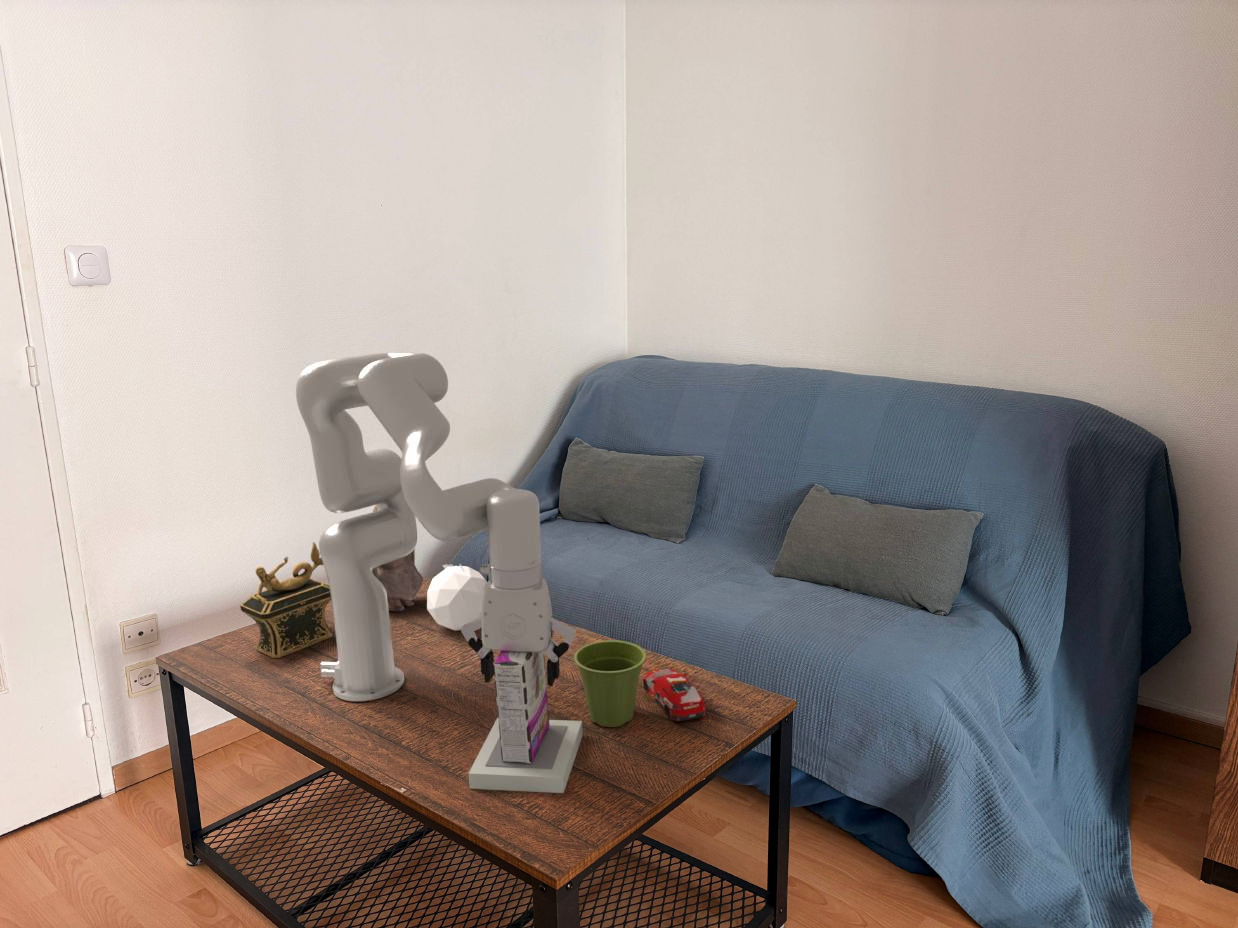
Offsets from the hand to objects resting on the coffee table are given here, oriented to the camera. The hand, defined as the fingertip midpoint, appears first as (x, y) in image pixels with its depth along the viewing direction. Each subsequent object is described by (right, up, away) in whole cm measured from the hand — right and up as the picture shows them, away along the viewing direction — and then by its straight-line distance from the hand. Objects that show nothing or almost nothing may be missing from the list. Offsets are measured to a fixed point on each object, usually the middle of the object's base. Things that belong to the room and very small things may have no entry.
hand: (520, 680), depth 138 cm
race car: (+24, -9, +19) cm, 32 cm away
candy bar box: (0, -11, +2) cm, 11 cm away
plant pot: (+14, -10, +15) cm, 22 cm away
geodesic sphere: (-18, -2, +53) cm, 57 cm away
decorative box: (-50, -4, +49) cm, 70 cm away
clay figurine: (-34, +1, +64) cm, 73 cm away
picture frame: (+1, -13, +3) cm, 13 cm away
